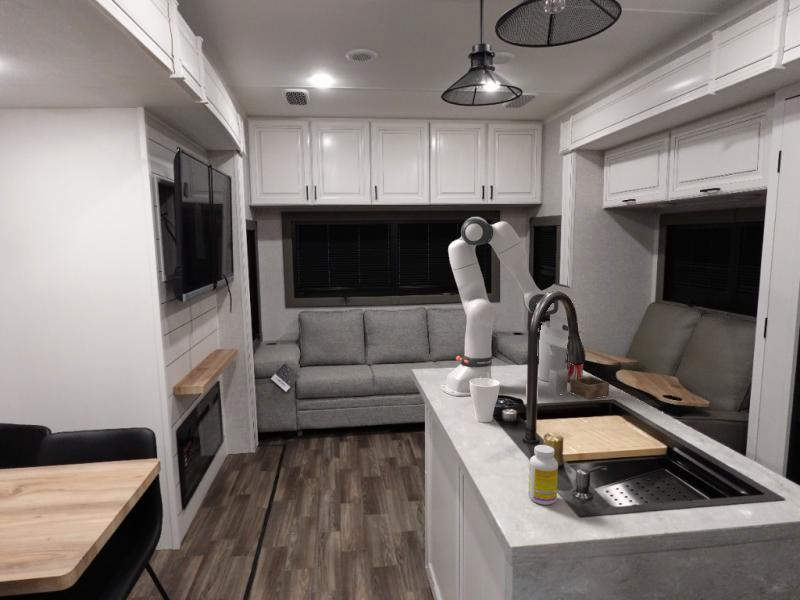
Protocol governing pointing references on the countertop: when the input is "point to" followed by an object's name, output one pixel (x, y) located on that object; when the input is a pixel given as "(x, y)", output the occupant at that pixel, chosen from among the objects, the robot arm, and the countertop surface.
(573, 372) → the soda can
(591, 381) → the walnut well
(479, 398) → the cup
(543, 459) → the supplement bottle
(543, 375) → the cylinder vase
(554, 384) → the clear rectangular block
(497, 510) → the countertop surface
